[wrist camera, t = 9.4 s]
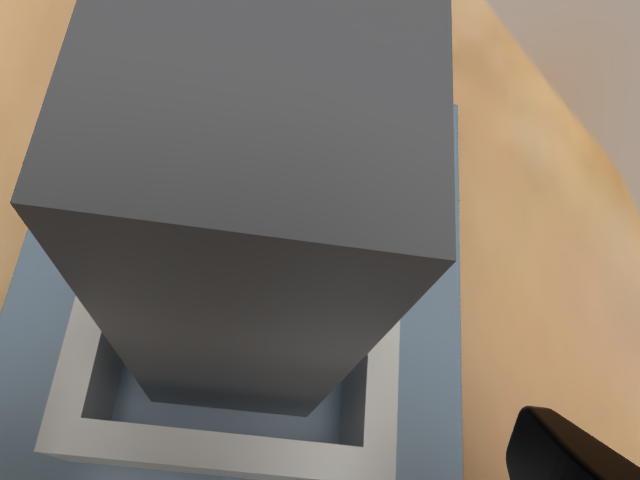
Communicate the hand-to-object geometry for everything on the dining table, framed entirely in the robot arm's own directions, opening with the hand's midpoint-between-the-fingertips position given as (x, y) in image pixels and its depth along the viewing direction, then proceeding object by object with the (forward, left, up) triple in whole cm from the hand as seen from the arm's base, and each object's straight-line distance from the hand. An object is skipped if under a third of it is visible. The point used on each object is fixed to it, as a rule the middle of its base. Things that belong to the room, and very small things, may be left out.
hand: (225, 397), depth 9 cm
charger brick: (+2, -3, -9) cm, 10 cm away
